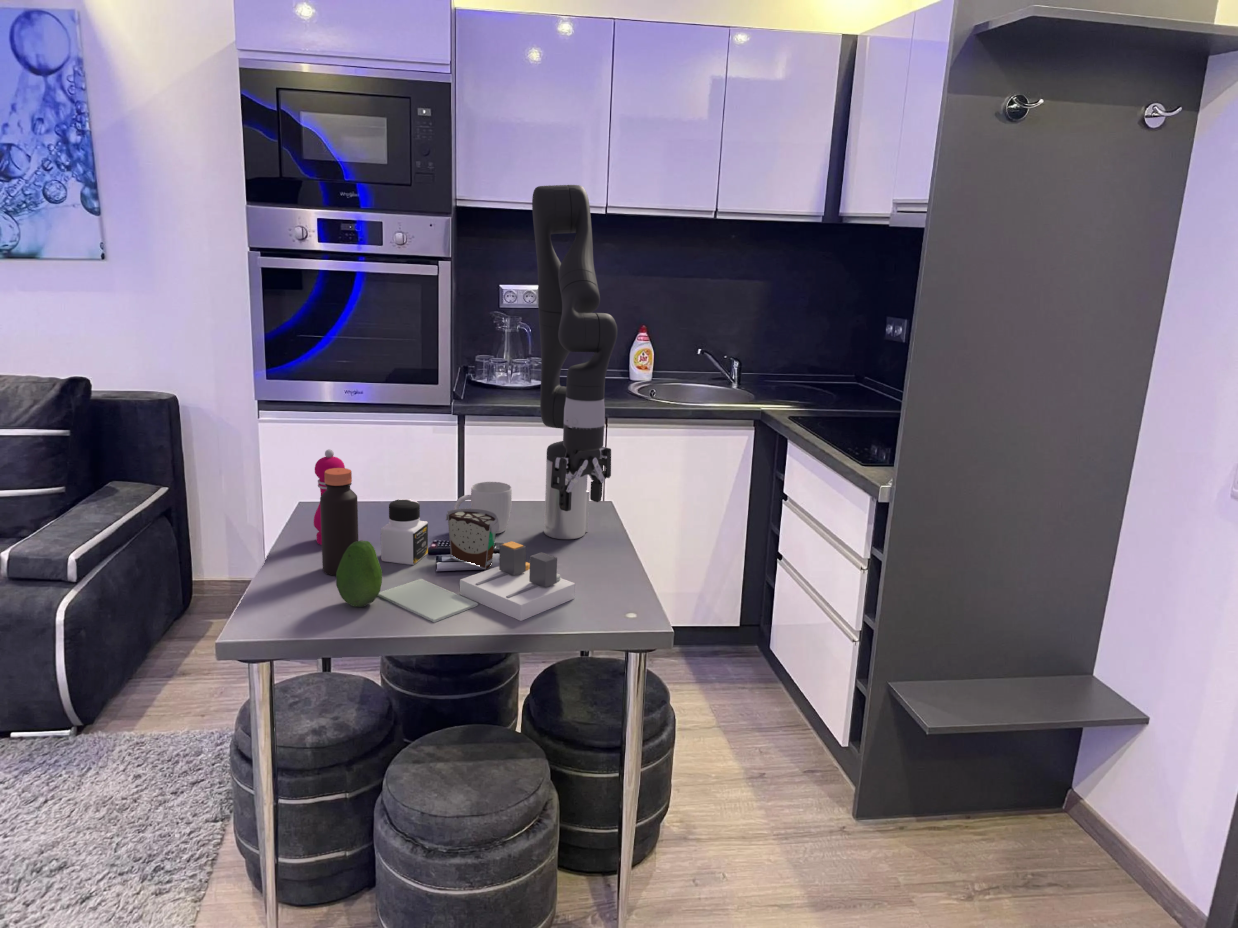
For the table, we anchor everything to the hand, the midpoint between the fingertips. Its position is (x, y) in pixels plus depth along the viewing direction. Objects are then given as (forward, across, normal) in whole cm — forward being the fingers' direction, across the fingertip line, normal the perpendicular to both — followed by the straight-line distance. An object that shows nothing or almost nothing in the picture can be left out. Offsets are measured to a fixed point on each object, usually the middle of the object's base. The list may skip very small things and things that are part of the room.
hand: (580, 505), depth 169 cm
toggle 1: (+13, +10, -8) cm, 18 cm away
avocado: (+16, +35, -21) cm, 44 cm away
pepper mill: (+16, +20, -52) cm, 58 cm away
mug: (+16, -8, -36) cm, 40 cm away
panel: (+16, +12, -4) cm, 21 cm away
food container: (+16, +5, -23) cm, 29 cm away
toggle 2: (+13, +10, 0) cm, 16 cm away
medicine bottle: (+16, +15, -34) cm, 40 cm away
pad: (+16, +25, -14) cm, 33 cm away
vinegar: (+16, +28, -37) cm, 49 cm away
